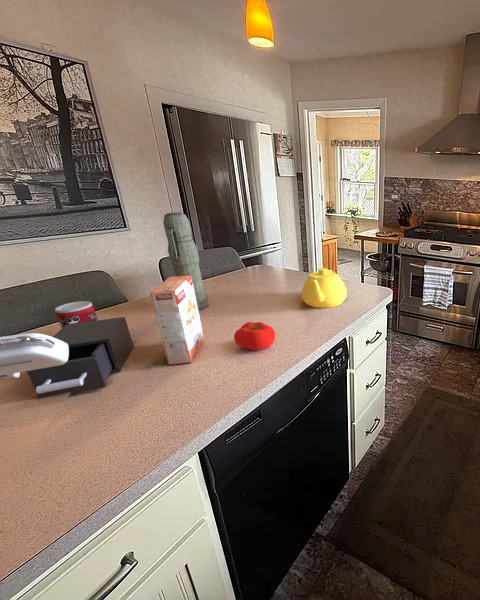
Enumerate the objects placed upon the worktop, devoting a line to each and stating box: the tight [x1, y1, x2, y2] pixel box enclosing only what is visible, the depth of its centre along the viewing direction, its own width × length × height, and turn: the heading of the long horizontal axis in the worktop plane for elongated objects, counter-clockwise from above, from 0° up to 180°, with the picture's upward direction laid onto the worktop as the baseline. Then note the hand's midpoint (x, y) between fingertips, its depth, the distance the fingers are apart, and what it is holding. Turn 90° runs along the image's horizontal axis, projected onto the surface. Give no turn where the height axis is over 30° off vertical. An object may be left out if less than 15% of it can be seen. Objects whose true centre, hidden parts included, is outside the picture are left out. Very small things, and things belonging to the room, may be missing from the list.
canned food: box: [54, 300, 98, 329], centre depth 98 cm, size 8×8×11 cm
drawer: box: [26, 342, 114, 399], centre depth 76 cm, size 18×11×8 cm, turn 26°
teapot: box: [301, 267, 348, 309], centre depth 129 cm, size 25×18×14 cm
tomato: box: [233, 321, 276, 351], centre depth 96 cm, size 10×11×6 cm
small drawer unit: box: [52, 316, 135, 375], centre depth 85 cm, size 15×13×10 cm
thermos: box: [162, 212, 209, 311], centre depth 118 cm, size 9×12×35 cm
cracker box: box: [149, 276, 205, 366], centre depth 90 cm, size 14×6×21 cm, turn 17°
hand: (8, 375), depth 55 cm, fingers closed
